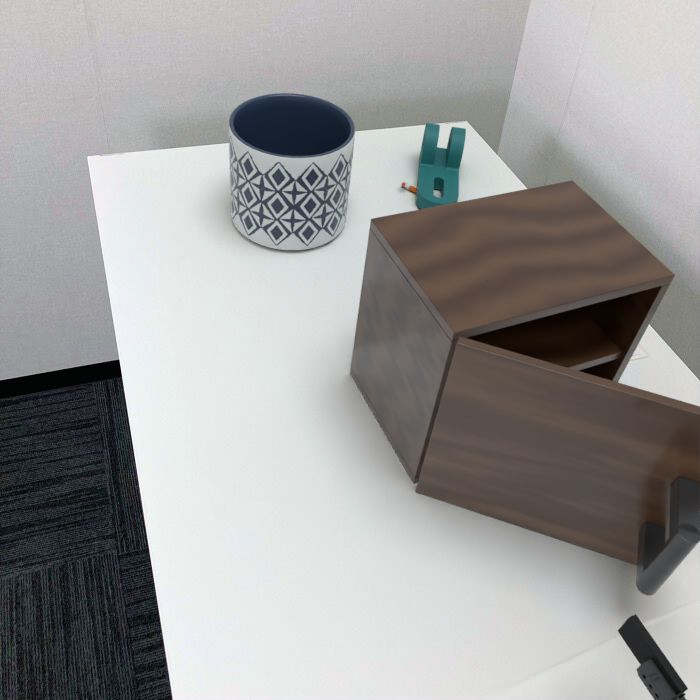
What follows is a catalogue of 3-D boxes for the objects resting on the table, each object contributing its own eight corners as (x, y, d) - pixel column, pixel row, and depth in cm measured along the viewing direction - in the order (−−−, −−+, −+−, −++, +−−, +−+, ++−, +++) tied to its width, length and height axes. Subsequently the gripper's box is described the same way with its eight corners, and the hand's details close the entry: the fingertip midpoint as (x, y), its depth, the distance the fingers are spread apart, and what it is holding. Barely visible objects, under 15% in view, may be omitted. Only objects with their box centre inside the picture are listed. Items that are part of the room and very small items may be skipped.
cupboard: (596, 422, 93) (675, 274, 76) (413, 484, 84) (454, 332, 67) (519, 327, 104) (572, 179, 87) (349, 373, 95) (370, 218, 78)
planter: (226, 186, 121) (223, 92, 110) (334, 183, 125) (342, 92, 113) (236, 256, 109) (234, 159, 97) (355, 250, 113) (367, 156, 101)
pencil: (403, 184, 126) (404, 181, 126) (493, 229, 120) (494, 225, 119) (400, 186, 126) (401, 183, 125) (490, 231, 119) (491, 227, 119)
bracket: (419, 156, 134) (427, 115, 128) (456, 161, 133) (465, 121, 128) (415, 211, 121) (423, 169, 115) (455, 217, 121) (466, 176, 115)
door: (648, 629, 74) (767, 499, 57) (398, 544, 78) (438, 398, 61) (651, 561, 80) (760, 423, 62) (417, 485, 84) (459, 335, 67)
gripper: (735, 955, 51) (559, 664, 64) (963, 798, 59) (767, 569, 72) (792, 942, 45) (587, 627, 58) (1034, 771, 54) (808, 529, 67)
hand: (686, 594), depth 65 cm, fingers open, 13 cm apart
